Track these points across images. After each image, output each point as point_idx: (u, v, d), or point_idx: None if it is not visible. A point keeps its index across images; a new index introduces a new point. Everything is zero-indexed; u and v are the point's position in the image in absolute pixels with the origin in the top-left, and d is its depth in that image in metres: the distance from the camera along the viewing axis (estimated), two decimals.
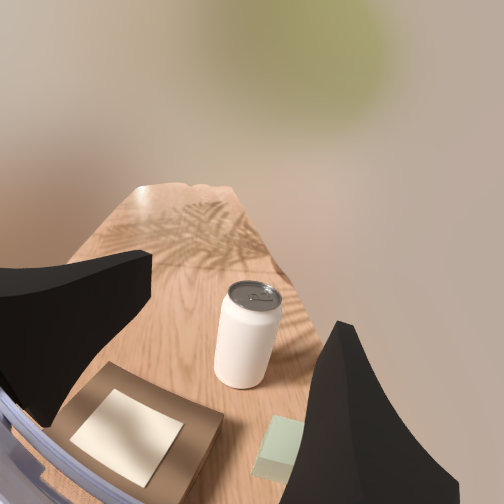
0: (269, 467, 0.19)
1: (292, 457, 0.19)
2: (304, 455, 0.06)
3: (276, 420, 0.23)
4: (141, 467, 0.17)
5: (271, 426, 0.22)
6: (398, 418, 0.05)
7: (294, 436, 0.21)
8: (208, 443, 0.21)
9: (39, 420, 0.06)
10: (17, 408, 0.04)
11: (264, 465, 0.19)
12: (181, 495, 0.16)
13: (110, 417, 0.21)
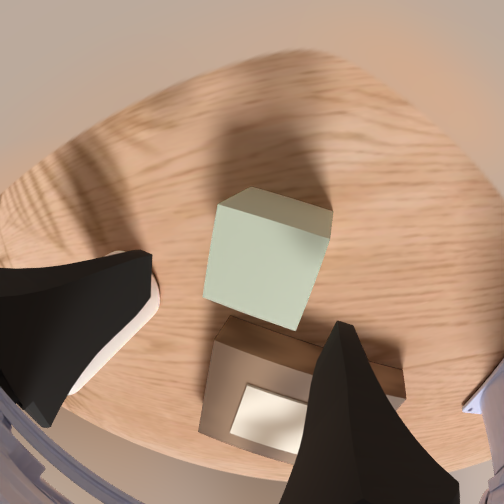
0: None
1: (295, 280, 0.13)
2: (304, 455, 0.06)
3: (214, 294, 0.14)
4: None
5: (228, 305, 0.14)
6: (398, 418, 0.05)
7: (246, 269, 0.13)
8: (270, 362, 0.17)
9: (39, 420, 0.06)
10: (17, 408, 0.04)
11: None
12: None
13: (266, 435, 0.21)
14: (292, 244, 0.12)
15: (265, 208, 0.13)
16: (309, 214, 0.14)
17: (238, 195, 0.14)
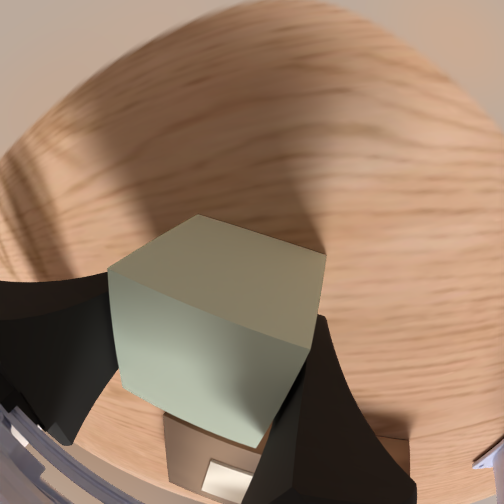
0: None
1: (248, 399, 0.07)
2: (268, 445, 0.06)
3: (135, 389, 0.08)
4: None
5: (156, 405, 0.08)
6: (357, 410, 0.05)
7: (169, 371, 0.07)
8: (235, 447, 0.11)
9: (60, 439, 0.06)
10: (17, 408, 0.04)
11: None
12: None
13: (242, 497, 0.15)
14: (237, 350, 0.06)
15: (196, 270, 0.07)
16: (282, 273, 0.08)
17: (161, 239, 0.08)
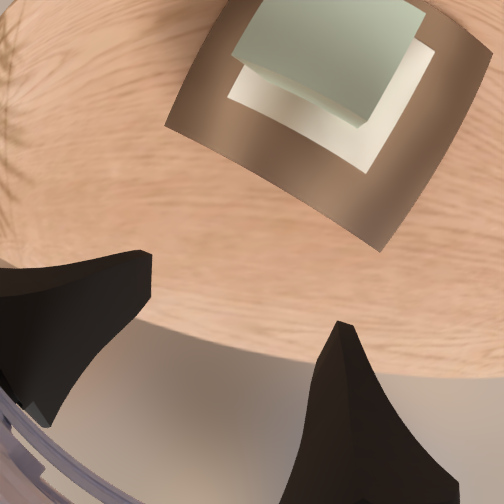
0: None
1: (380, 44, 0.06)
2: (304, 455, 0.06)
3: (251, 50, 0.08)
4: None
5: (270, 65, 0.08)
6: (398, 418, 0.05)
7: (313, 19, 0.07)
8: None
9: (39, 420, 0.06)
10: (17, 408, 0.04)
11: None
12: (435, 9, 0.08)
13: (295, 95, 0.12)
14: (381, 4, 0.06)
15: None
16: None
17: None
